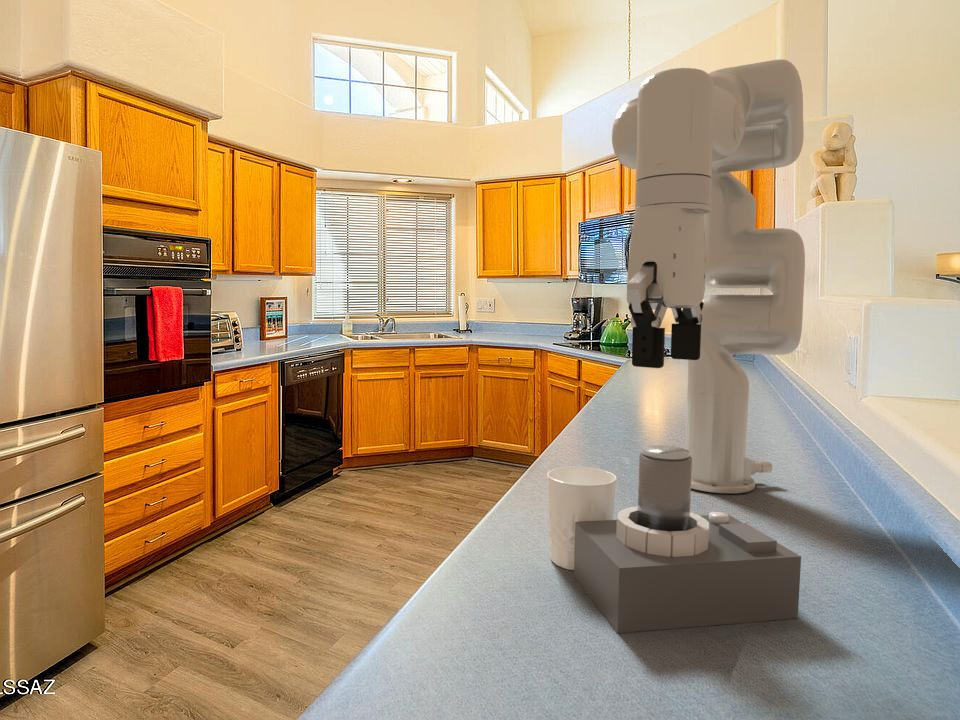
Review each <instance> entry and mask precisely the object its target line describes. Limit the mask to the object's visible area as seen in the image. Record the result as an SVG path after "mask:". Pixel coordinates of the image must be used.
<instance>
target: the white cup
mask: <svg viewBox="0 0 960 720" xmlns="http://www.w3.org/2000/svg"><path fill="white" fill-rule="evenodd" d="M617 481H618V480H617V476H616V474H615V473H612V472H610V471H608V470H604V469H602V468H601V469H600V468H595V467H587V466H563V467H557V468H554V469H551V470H548V471H547V473H546V483H547V484H546V488H547V489H546V491H547V516H548V517H547V518H548V519H547V520H548V521H547V524H548V525H547V526H548V536H549V543H550V560H551V562H553V564H555V565H556V566H558V567H560V568H563V569H564V570H565V569H566V570H569V571H574V554H575V522H581V521H602V520H615V507H616V491H617V483H618V482H617Z"/></svg>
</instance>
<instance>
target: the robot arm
mask: <svg viewBox="0 0 960 720" xmlns="http://www.w3.org/2000/svg"><path fill="white" fill-rule="evenodd" d="M802 85H803V84H802V80H801V77H800V74H799V71H798V69H797V68H796V66H795V64H793V63H792V62H790V61H789V60H787V59H782V58H781V59H780V58H779V59H772V60H765V61H760V62H759V61H758V62H755V63H749V64H744V65H738V66H730V67H725V68H719V69H717V70H714V71H711V72H709V73H708V72H706V71H704V70H702V69H699V68H691V67H680V68H679V67H678V68H677V67H675V68H671V69H665V70H661V71H659V72H656V73H654V74H652V75H650V76H648V77H647V78H646V79H645V80H644V81H643V82H642V83H641V84H640V88H639V89H638V94H637V98H633V99H631V100H629V101H628V102H626V103H624V104H623V105H622V106H621V108H620V109H619V111H618V112H617V113H616V116H615V118H614V121H613V125H612V130H611V145H612V148H613V153H614V155H615V156H616V159H617V160H618V162H619V163H620V164H621V165H622V166H623V167H625V168H627V169H630V170H635V195H634V196H635V197H634V199H635V200H634V202H635V203H634V218H633V223H632V228H631V233H630V234H631V235H630V241H629V251H628V263H627V265H628V266H627V279H626V302H627V304H628V309H629V313H630V314H631V318H630V326H631V328H632V341H631V343H632V344H631V349H632V350H631V364H632V366H633V367H636V368H637V367H639V368H649V369H661V368H663V367H664V365H665V338H666V336H665V335H666V334H665V333H666V331H665V330H666V328H665V327H661V326H662V323H663V320H664V318H665V316H666V314H667V310H668V309H671V312H672V315H673V319H674V321H675V322H674V323H671V332H670V333H671V336H670V337H671V338H670V357H671V358H672V359H674V360H686V361H687V368H688V369H687V391H686V392H687V396H686V418H685V421H686V422H685V442H684V443H685V448H684V449H686V450H688V451H689V456H691V457H692V475H691V490H696V491H701V492H706V493H707V492H708V493H713V494H731V495H733V494H744V493H748V492H751V491H753V490H754V489H755V487H756V486H755V485H756V483H755V482H756V481H755V479H754V478H753V477H752V476H754V475H756V473H759V474H767V473H768V474H770V473H772V471H773V464H772V463H771V461H769V460H765V461H757V462H756V461H755V459H751V458H748V457H747V439H748V438H747V437H748V420H749V419H748V416H749V414H748V413H749V395H750V383H749V378H748V376H747V374H746V372H745V370H744V369H743V367H742V366H741V365H740V364H739V363H738V362H737V361H736V359H735V358H734V356H733V355H742V354H745V355H746V354H747V355H749V354H750V355H765V356H766V355H767V356H771V355H772V356H783V355H789V354H791V353H794V351H796V350H797V348H798V347H799V344H800V342H801V338H802V331H803V318H804V317H803V315H804V293H805V274H806V273H805V272H806V271H805V270H806V253H805V250H806V249H805V245H804V241H803V238H802V236H801V235H800V234H799V232H797V231H795V230H794V229H790V228H779V227H778V228H756V220H757V219H756V218H757V200H756V198H755V197H754V195H753V194H752V192H751V191H750V190H749V189H748V188H747V186H746V185H744V183H742V182H741V181H740V180H739V179H738V178H737V177H735V176H734V175H733V174H732V173H733V172H744V171H756V170H757V171H758V170H766V169H767V170H768V169H778V168H785V167H788V166H790V165H792V164H793V163H795V162H796V161H797V159H798V158H799V157H800V156H801V155H800V154H801V153H802V150H803V145H804V137H805V136H804V134H805V133H804V131H805V130H804V98H803V97H804V94H803V86H802ZM706 286H707V287H711V288H714V289H715V288H716V289H767V290H769V291H770V292H771V293H772V294H711V295H705V291H706ZM653 310H654V311H653Z"/></svg>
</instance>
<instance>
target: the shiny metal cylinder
mask: <svg viewBox="0 0 960 720" xmlns="http://www.w3.org/2000/svg"><path fill="white" fill-rule="evenodd" d="M638 461H639V462H638V464H639V465H638V491H637V492H638V493H637V506H638V516H637V525H640V526H643V527H646V528H649V529H654V530H662V531H669V532H671V531H687V530H689V524H690V512H691V496H692V493H691V491H692V489H691V475H692V457H691V456H689V451H688V450H686V449H685V448H682V447H678V446H673V445H663V444H662V445H661V444H660V445H659V444H658V445H657V444H656V445H653V444H652V445H647V446H644V447H643V448H642V452H640V453H639V460H638Z"/></svg>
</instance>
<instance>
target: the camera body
mask: <svg viewBox="0 0 960 720" xmlns="http://www.w3.org/2000/svg"><path fill="white" fill-rule="evenodd" d="M637 516H638V505H635V506H633V505H632V506H629V507H627V508H623V509H621V510H619V511H618V513H617V516H616V519H614V520H602V521H581V522H575V554H574V570H573V576H574V578H575V579H576V580H577V582H578V583H579V584H580V585H581V587H582V588H583V590H584V591H585V592H586V594H587V596H588V597H590V599H591V601H592V602H593V603H594V604H595V605H596V608H598V609H599V611H600V612H601V614H602V615H603V616H604V617H605V619H606V620H607V622H608V623H609V624H610V626H611V627H612V628H613V630H614V631H615V633H616V634H624V633H635V632H636V633H638V632H649V631H658V630H659V631H660V630H661V631H662V630H672V629H685V628H686V629H687V628H694V627H696V628H697V627H707V626H709V627H710V626H720V625H721V626H723V625H732V624H743V623H745V624H746V623H758V622H765V621H766V622H767V621H769V622H770V621H780V620H781V621H782V620H792V619H794V620H795V619H798V618H799V605H800V604H799V601H800V585H801V583H800V582H801V568H802V567H801V565H802V556H801V555H800V554H798V553H796V552H794V551H793V550H791V549H789V548H787V547H786V546H784V545H782V544H780V543H779V542H778V540H776V539H774V538H773V537H770V536H769V535H768V534H766V533H764V532H762V531H760V530H759V529H757V528H755V527H753V526H751V525H750V524H749V523H747V522H742V521H741V520H738V519H737V518H735V517H734V516H732V515H730V514H727V513H725V512H721V511H710V512H709V513H708V514H707V515H705V514H704V515H699V514H697V513H695V512H692V511H690V524H689V530H687V531H671V532H669V531H662V530H654V529H649V528H646V527H643V526H640V525H637Z"/></svg>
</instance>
